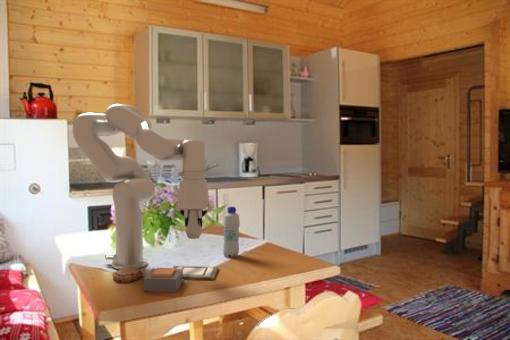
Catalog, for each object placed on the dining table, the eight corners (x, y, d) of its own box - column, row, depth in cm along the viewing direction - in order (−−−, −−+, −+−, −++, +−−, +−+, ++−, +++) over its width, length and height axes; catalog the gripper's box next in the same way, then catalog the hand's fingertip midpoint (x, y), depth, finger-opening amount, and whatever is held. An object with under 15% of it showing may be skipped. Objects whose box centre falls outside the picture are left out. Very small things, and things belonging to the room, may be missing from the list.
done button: (152, 282, 135) (152, 273, 135) (157, 276, 141) (157, 267, 141) (171, 283, 135) (171, 273, 135) (175, 277, 141) (175, 268, 141)
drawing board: (166, 278, 145) (166, 275, 145) (174, 267, 157) (174, 265, 157) (213, 280, 145) (213, 277, 145) (218, 269, 157) (218, 266, 157)
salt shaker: (198, 239, 147) (199, 201, 146) (182, 238, 148) (182, 201, 147) (204, 236, 152) (204, 199, 151) (188, 235, 153) (188, 198, 152)
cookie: (110, 284, 140) (110, 275, 139) (113, 274, 150) (113, 266, 150) (142, 282, 142) (142, 273, 142) (143, 273, 152) (143, 264, 152)
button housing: (143, 291, 134) (143, 278, 133) (152, 280, 144) (152, 268, 143) (176, 292, 133) (176, 279, 133) (182, 281, 143) (182, 269, 143)
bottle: (242, 255, 176) (243, 206, 174) (232, 259, 170) (233, 208, 168) (229, 252, 179) (229, 204, 178) (219, 256, 174) (219, 206, 172)
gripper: (167, 176, 145) (167, 230, 146) (216, 177, 144) (215, 231, 146) (172, 174, 152) (172, 226, 154) (218, 175, 152) (218, 227, 153)
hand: (193, 228), depth 150 cm, fingers closed on salt shaker, 3 cm apart
